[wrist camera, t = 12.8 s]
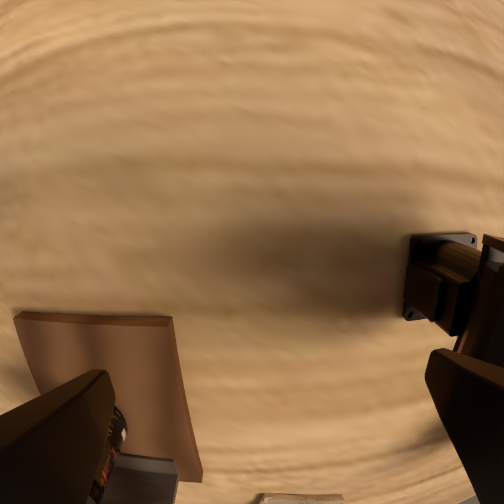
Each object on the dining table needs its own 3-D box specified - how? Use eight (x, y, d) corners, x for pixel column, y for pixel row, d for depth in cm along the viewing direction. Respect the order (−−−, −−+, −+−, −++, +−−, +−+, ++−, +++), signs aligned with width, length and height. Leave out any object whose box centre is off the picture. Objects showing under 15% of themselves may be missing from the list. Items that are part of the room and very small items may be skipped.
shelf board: (172, 317, 21) (116, 435, 10) (203, 471, 25) (193, 566, 14) (22, 311, 21) (-64, 378, 10) (82, 455, 25) (47, 529, 14)
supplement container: (65, 379, 21) (13, 451, 12) (128, 400, 21) (90, 487, 12) (74, 425, 22) (36, 492, 13) (131, 444, 22) (104, 521, 13)
